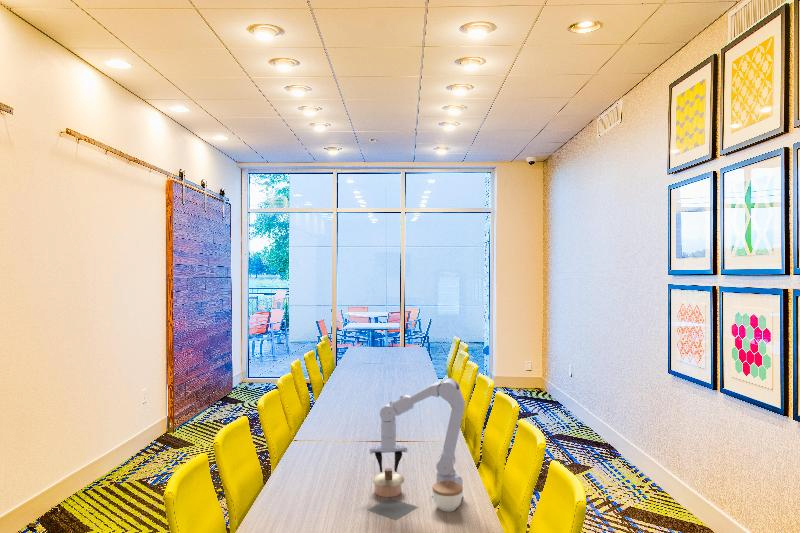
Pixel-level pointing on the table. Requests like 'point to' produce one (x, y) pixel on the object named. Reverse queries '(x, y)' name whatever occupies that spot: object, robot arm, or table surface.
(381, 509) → the mat
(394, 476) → the lid
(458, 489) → the lidded jar
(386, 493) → the bowl
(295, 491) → the table surface
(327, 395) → the table surface
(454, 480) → the robot arm
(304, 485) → the table surface
